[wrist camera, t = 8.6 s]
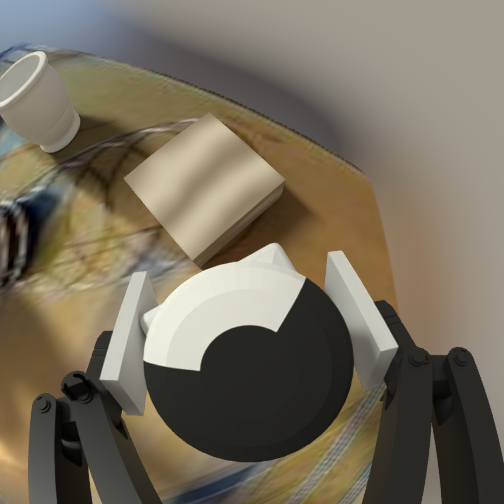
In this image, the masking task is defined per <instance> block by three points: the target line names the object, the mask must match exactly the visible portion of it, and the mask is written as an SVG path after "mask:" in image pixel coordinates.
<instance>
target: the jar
mask: <svg viewBox="0 0 504 504" xmlns="http://www.w3.org/2000/svg"><path fill="white" fill-rule="evenodd" d="M47 62H48V59H47V56H46V55H45V53H44V52H41V51H38V52H34V53H31V54H29V55H27V56H25V57H23V58H22V59H20V60H19V61H17V62H16V63H15V64H14V65H12V66H11V67H10V68H9V69H8V70H7V71H6V72H5V73H4V74H3V76H2V77H1V78H0V115H1V117H2V118H3V120H4V121H5V123H6V124H7V125H8V126H9V127H10V128H11V129H12V130H13V131H14V132H15V133H17V134H18V135H20V136H21V137H23V138H25V139H27V140H28V141H30V142H32V143H34V144H37V145H40V146H41V148H42V150H43V151H45V152H48V153H53V152H56V151H59V150H61V149H62V148H64V147H65V146H66V145H68V144H69V143H70V142H71V140H72V139H73V138H74V137H75V135H76V133H77V132H78V129H79V126H80V117H79V115H78V114H77V113H76V112H75V111H74V108H73V103H72V100H71V98H70V96H69V94H68V91H67V88H66V86H65V84H64V82H63V80H62V79H61V77H60V76H59V75H58V73H57V72H56V71H55V70H54V69H53V68H52V67H51V66H50V65H48V64H47Z"/></svg>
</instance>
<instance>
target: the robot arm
mask: <svg viewBox="0 0 504 504" xmlns="http://www.w3.org/2000/svg"><path fill="white" fill-rule="evenodd" d="M324 292H325V293H326V294H327V295H328V296H329V297H330V299H331V300H332V301H333V302H334V304H335V305H336V306H337V308H338V309H339V311H340V313H341V315H342V316H343V318H344V320H345V322H346V325H347V327H348V330H349V333H350V337H351V341H352V345H353V354H354V366H355V369H356V371H357V374H358V376H359V379H360V381H361V384H362V387H363V389H364V391H367V390H370V389H374V388H378V387H380V386H381V384H382V382H383V380H384V381H385V383H386V385H387V387H386V389H385V391H384V393H383V395H382V397H381V399H380V401H383V399H384V401H383V408H382V415H381V421H380V427H379V432H378V438H377V443H376V448H375V453H374V457H373V462H372V466H371V471H370V475H369V479H368V483H367V487H366V490H365V494H364V498H363V501H362V504H421V501H422V496H423V491H424V485H425V479H426V471H427V464H428V457H429V447H430V435H431V422H432V427H433V433H434V439H435V445H436V452H437V459H438V467H439V475H440V486H441V497H442V504H504V462H503V458H502V452H501V448H500V443H499V439H498V434H497V431H496V427H495V423H494V419H493V415H492V412H491V408H490V405H489V402H488V399H487V395H486V392H485V389H484V386H483V383H482V380H481V377H480V375H479V372H478V369H477V366H476V364H475V361H474V359H473V356H472V355H471V353H470V352H469V351H467V349H464V348H462V347H455V348H453V349H451V351H449V353H448V355H430V354H429V353H428V352H427V351H426V350H424V349H423V348H419V347H417V346H416V345H415V343H414V342H413V340H412V338H411V336H410V335H409V333H408V332H407V330H406V328H405V326H404V325H403V323H401V320H400V318H399V317H398V316H397V313H396V312H395V310H394V309H393V307H392V306H391V305H390V304H388V303H387V302H386V301H385V300H381V301H376V302H373V301H372V299H371V297H370V296H369V294H368V292H367V290H366V289H365V287H364V286H363V284H362V282H361V281H360V279H359V277H358V276H357V274H356V272H355V271H354V269H353V268H352V266H351V264H350V263H349V261H348V260H347V258H346V256H345V255H344V253H343V252H342V251H333V252H328V257H327V268H326V278H325V288H324ZM157 306H158V304H157V301H156V298H155V295H154V292H153V289H152V286H151V283H150V280H149V276H148V273H147V271H146V272H136V273H133V275H132V278H131V280H130V283H129V286H128V289H127V292H126V294H125V297H124V300H123V303H122V306H121V309H120V312H119V315H118V318H117V321H116V324H115V328H114V331H103V332H102V334H101V335H100V336H99V337H98V339H97V341H96V344H95V347H94V350H93V353H92V357H91V359H90V362H89V366H88V369H87V372H86V373H84V372H82V371H74V372H71V373H69V374H68V375H67V376H66V377H65V378H64V379H63V381H62V383H61V390H62V392H63V393H64V394H65V395H66V396H67V397H63V398H59V399H55V397H54V396H52V395H51V394H49V393H44V394H40V395H39V396H38V397H36V399H35V400H34V402H33V405H32V412H31V422H30V434H29V455H28V484H29V503H30V504H92V497H91V489H90V481H89V471H88V466H89V469H90V472H91V475H92V478H93V481H94V484H95V486H96V489H97V492H98V494H99V497H100V499H101V502H102V504H162V502H161V500H160V498H159V496H158V494H157V493H156V491H155V489H154V487H153V485H152V483H151V481H150V479H149V477H148V475H147V473H146V471H145V469H144V467H143V464H142V462H141V460H140V458H139V456H138V454H137V451H136V449H135V447H134V444H133V442H132V440H131V437H130V435H129V432H128V430H127V427H126V425H125V422H124V420H123V419H122V417H121V413H122V409H123V411H124V412H125V413H126V414H127V415H138V416H144V407H145V399H146V392H147V386H146V381H145V376H144V364H143V357H144V346H145V342H146V338H147V337H146V335H145V333H144V331H143V329H142V327H141V325H140V317H141V316H142V315H143V314H145V313H146V312H148V311H150V310H152V309H154V308H155V307H157Z"/></svg>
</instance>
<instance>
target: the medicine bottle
mask: <svg viewBox="0 0 504 504" xmlns="http://www.w3.org/2000/svg"><path fill="white" fill-rule="evenodd" d="M140 325H141V327H142V329H143V331H144V333H145V335H146V337H147V338H146V342H145V346H144V357H143V364H144V376H145V381H146V386H147V390H148V392H149V395H150V398H151V401H152V403H153V405H154V406H155V408H156V410H157V412H158V414H159V415H160V417H161V418H162V419H163V421H164V422H165V423H166V425H167V426H168V427H169V428H170V429H171V430H172V431H173V432H174V433H175V434H176V435H177V436H178V437H180V438H181V439H182V440H183V441H185V442H186V443H187V444H189V445H190V446H192V447H194V448H196V449H197V450H199V451H201V452H203V453H206V454H208V455H211V456H213V457H217V458H220V459H224V460H228V461H236V462H261V461H269V460H273V459H277V458H281V457H284V456H287V455H289V454H291V453H294V452H296V451H298V450H300V449H302V448H303V447H305V446H307V445H308V444H310V443H311V442H313V441H314V440H315V439H316V438H318V437H319V436H320V435H321V434H322V433H323V432H324V431H325V430H326V429H327V428H328V427H329V426H330V425H331V424H332V422H333V421H334V420H335V418H336V417H337V416H338V414H339V413H340V411H341V409H342V407H343V405H344V403H345V401H346V399H347V396H348V393H349V390H350V387H351V382H352V378H353V376H354V370H353V369H354V354H353V345H352V341H351V337H350V333H349V330H348V327H347V325H346V322H345V320H344V318H343V316H342V315H341V313H340V311H339V309H338V308H337V306H336V305H335V304H334V302H333V301H332V300H331V299H330V297H329V296H328V295H327V294H326V293H325V292H324V291H323V290H322V289H321V288H320V287H319V286H317V285H316V284H315V283H313V282H312V281H310V280H309V279H308V278H306V277H304V276H303V275H301V274H299V273H297V272H296V270H295V268H294V267H293V265H292V263H291V262H290V260H289V258H288V257H287V255H286V253H285V252H284V250H283V248H282V247H281V246H280V245H279V244H277V243H272V244H269V245H267V246H265V247H264V248H262V249H260V250H258V251H256V252H255V253H253V254H251V255H249V256H247V257H246V258H244V259H242V260H240V261H238V262H232V263H227V264H222V265H218V266H215V267H212V268H210V269H207V270H204V271H202V272H200V273H199V274H197V275H195V276H193V277H191V278H190V279H188V280H187V281H185V282H184V283H183V284H181V285H180V286H179V287H178V288H177V289H176V290H175V291H173V292H172V293H171V294H170V295H169V296H168V298H167V299H166V300H165V301H164V303H163V304H161V305H159V306H157V307H155V308H154V309H152V310H150V311H148V312H146V313H145V314H143V315H142V316H141V317H140Z"/></svg>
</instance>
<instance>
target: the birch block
mask: <svg viewBox="0 0 504 504" xmlns="http://www.w3.org/2000/svg"><path fill="white" fill-rule="evenodd" d="M124 179H125V181H126V182H127V183H128V184H129V186H130V187H131V188H132V189H133V191H134V192H135V193H136V194H137V196H138V197H139V198H140V199H141V200H142V202H143V203H144V204H145V205H146V207H147V208H148V209H149V210H150V211H151V213H152V214H153V215H154V216H155V217H156V219H157V220H158V221H159V222H160V223H161V225H162V226H163V227H164V228H165V229H166V230H167V232H168V233H169V234H170V235H171V236H172V237H173V239H174V240H175V241H176V242H177V243H178V244H179V246H180V247H181V248H182V249H183V250H184V251H185V253H186V254H187V255H188V256H189V257H190V258H191V259H192V261H193V262H194V263H195V264H196V265H197V266H198V267H199V268H201V267H202V266H203V265H204V264H205V263H206V262H207V261H208V260H209V259H211V258H212V257H213V256H214V255H215V254H216V253H217V252H218V251H220V250H221V249H222V248H223V247H224V246H225V245H226V244H227V243H229V242H230V241H231V240H232V239H233V238H234V237H235V236H236V235H238V234H239V233H240V232H241V231H242V230H243V229H244V228H246V227H247V226H248V225H249V224H250V223H251V222H252V221H254V220H255V219H256V218H257V217H258V216H259V215H260V214H262V213H263V212H264V211H265V210H266V209H267V208H269V207H270V206H271V205H272V204H273V203H274V202H275V201H277V200H278V199H279V198H280V197H281V195H282V191H283V187H284V184H285V179H284V178H283V177H282V176H281V175H280V174H279V173H277V172H276V171H275V170H274V169H273V168H272V167H271V166H270V165H269V164H268V163H267V162H266V161H264V160H263V159H262V158H261V157H260V156H259V155H258V154H257V153H256V152H254V151H253V150H252V149H251V148H250V147H249V146H248V145H247V144H245V143H244V142H243V141H242V140H241V139H240V138H239V137H237V136H236V135H235V134H234V133H233V132H232V131H230V130H229V129H228V128H227V127H226V126H225V125H223V124H222V123H221V122H220V121H219V120H218V119H216V118H215V117H214V116H213V115H212V114H210V113H208V114H206V115H205V116H203V117H202V118H200V119H199V120H198V121H196V122H195V123H193V124H192V125H191V126H189V127H188V128H186V129H185V130H184V131H182V132H181V133H180V134H178V135H177V136H176V137H174V138H173V139H172V140H170V141H169V142H168V143H166V144H165V145H164V146H162V147H161V148H160V149H159V150H157V151H156V152H155V153H154V154H152V155H151V156H150V157H149V158H147V159H146V160H145V161H144V162H142V163H141V164H140V165H139V166H138V167H136V168H135V169H134V170H133V171H132V172H131V173H129V174H128V175H127V176H126V177H125V178H124Z"/></svg>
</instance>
